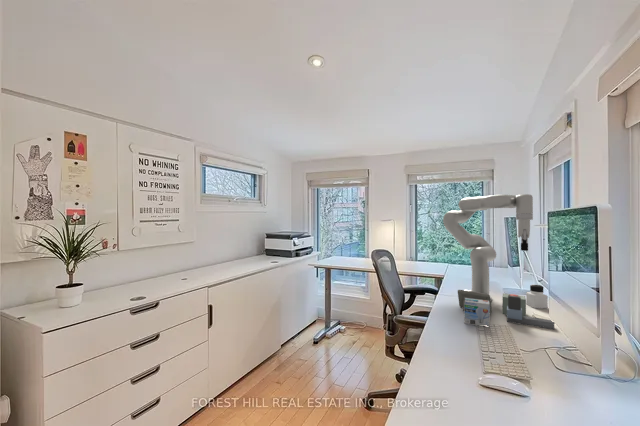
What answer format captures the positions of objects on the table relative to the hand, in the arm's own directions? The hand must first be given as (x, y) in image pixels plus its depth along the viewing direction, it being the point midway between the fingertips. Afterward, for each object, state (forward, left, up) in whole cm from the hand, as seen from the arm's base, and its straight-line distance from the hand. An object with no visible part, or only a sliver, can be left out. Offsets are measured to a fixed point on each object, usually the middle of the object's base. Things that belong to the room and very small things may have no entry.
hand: (524, 250), depth 162 cm
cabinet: (-5, -12, -32) cm, 35 cm away
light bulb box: (-20, -38, -32) cm, 54 cm away
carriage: (-5, -26, -30) cm, 40 cm away
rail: (+1, -26, -32) cm, 41 cm away
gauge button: (-5, -12, -27) cm, 30 cm away
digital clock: (-23, -18, -32) cm, 44 cm away
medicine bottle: (+6, +10, -32) cm, 34 cm away
